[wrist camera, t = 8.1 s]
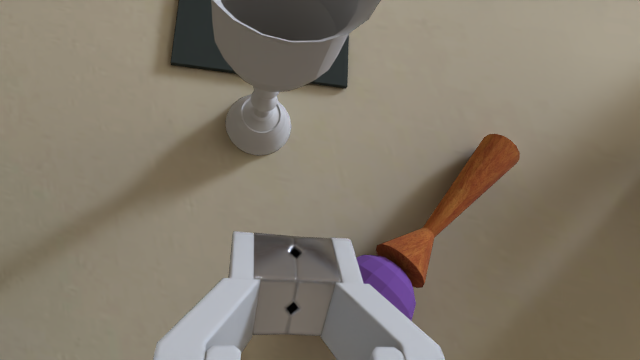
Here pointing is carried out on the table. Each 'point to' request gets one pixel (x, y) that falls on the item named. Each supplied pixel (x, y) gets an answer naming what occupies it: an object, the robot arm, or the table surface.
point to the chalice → (278, 57)
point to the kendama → (434, 226)
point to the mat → (202, 52)
